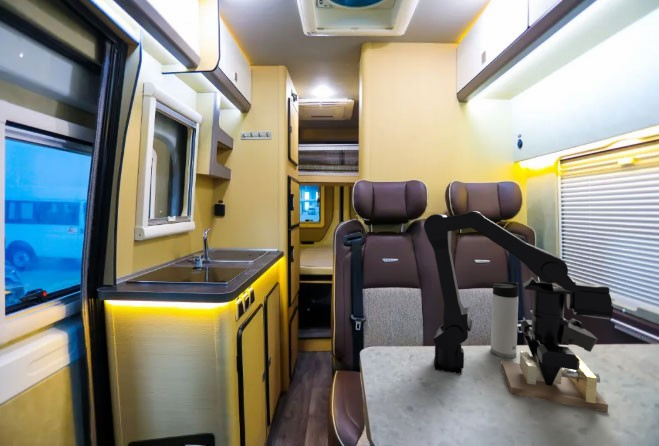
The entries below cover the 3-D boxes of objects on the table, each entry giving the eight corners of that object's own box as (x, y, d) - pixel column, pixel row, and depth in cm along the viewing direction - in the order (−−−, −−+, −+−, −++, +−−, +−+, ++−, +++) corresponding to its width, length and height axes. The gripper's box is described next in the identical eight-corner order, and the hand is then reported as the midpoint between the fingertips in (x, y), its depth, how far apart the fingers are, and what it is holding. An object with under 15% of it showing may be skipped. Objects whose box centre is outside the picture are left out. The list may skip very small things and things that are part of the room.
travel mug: (521, 359, 82) (524, 286, 81) (494, 357, 83) (497, 285, 82) (512, 348, 88) (514, 280, 87) (487, 346, 89) (489, 279, 88)
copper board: (511, 393, 67) (511, 387, 67) (501, 366, 78) (501, 360, 78) (607, 411, 61) (608, 404, 61) (582, 379, 73) (582, 373, 72)
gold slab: (585, 401, 62) (587, 376, 62) (567, 376, 71) (568, 354, 71) (595, 403, 62) (596, 378, 61) (575, 377, 71) (576, 355, 70)
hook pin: (527, 383, 67) (527, 365, 67) (519, 367, 73) (520, 351, 73) (605, 396, 62) (606, 377, 62) (590, 378, 69) (591, 361, 68)
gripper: (615, 332, 56) (611, 413, 57) (574, 301, 74) (571, 364, 75) (544, 324, 60) (541, 400, 61) (521, 297, 78) (519, 356, 79)
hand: (544, 378), depth 69 cm, fingers open, 5 cm apart
